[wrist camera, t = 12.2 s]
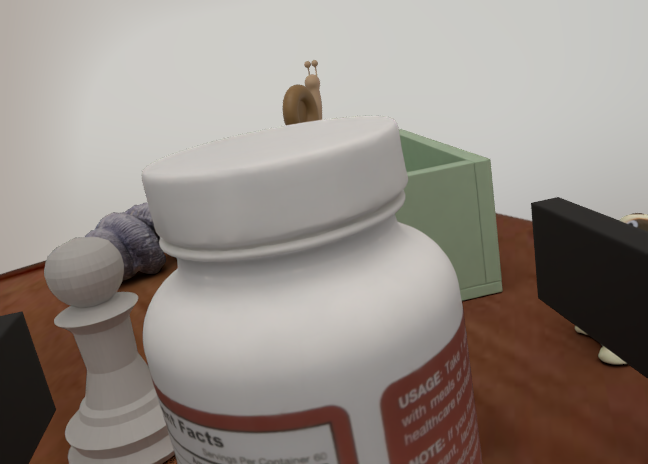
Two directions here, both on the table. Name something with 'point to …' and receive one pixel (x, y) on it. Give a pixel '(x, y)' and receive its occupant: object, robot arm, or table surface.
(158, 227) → the pill bottle
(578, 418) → the table surface
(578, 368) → the table surface
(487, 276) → the bin
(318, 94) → the snail figurine
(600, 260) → the robot arm
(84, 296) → the chess piece
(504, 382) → the table surface
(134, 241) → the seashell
